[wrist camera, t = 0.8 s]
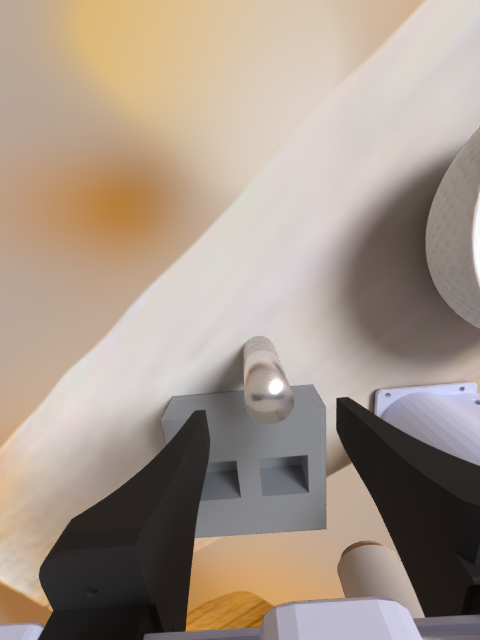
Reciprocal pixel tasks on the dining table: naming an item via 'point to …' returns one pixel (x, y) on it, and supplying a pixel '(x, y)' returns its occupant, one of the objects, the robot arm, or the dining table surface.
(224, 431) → the hole block
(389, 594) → the can
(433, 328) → the dining table surface
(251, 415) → the pin
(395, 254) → the dining table surface
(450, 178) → the cereal bowl
